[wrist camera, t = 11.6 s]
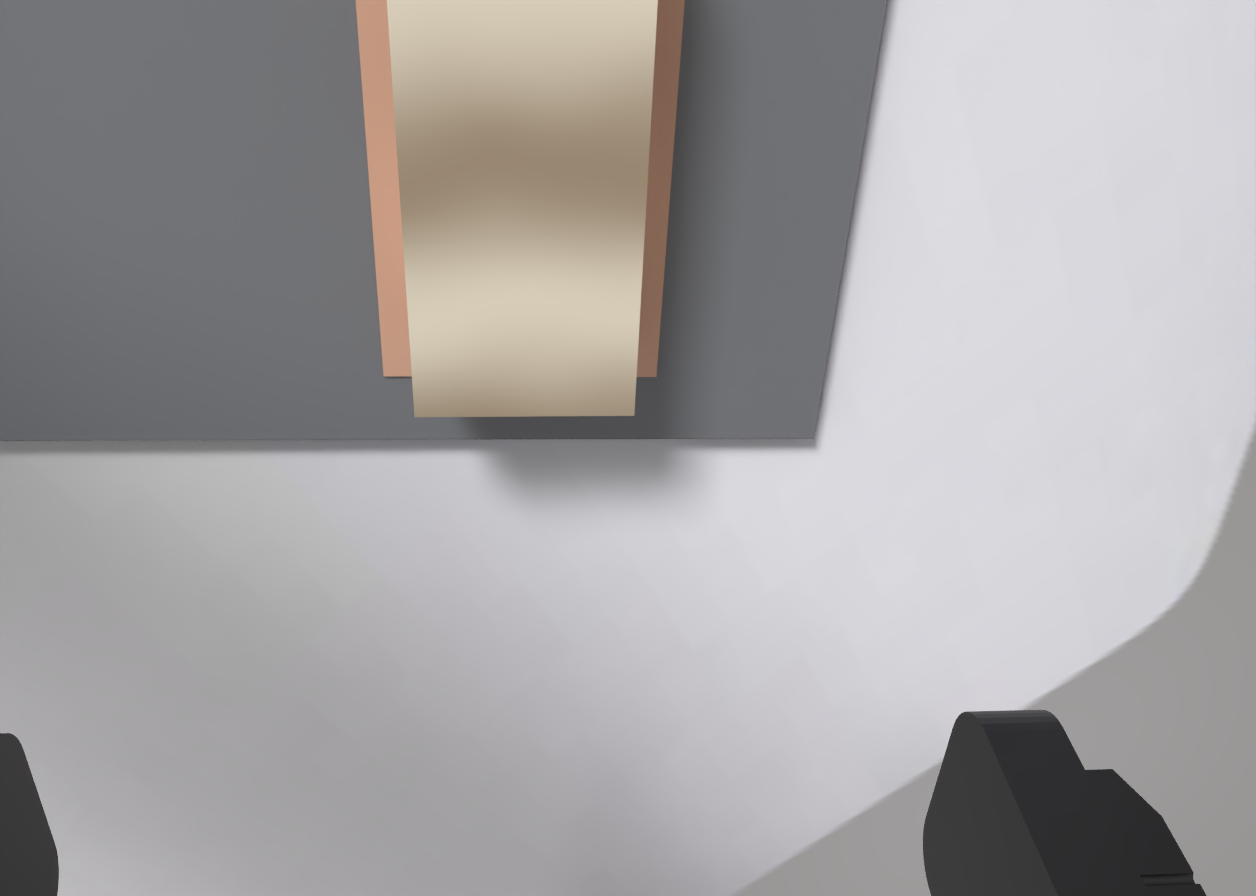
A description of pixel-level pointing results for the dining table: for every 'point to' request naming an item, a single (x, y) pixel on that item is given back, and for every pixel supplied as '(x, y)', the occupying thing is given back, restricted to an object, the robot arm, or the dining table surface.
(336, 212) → the rubber mat
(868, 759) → the dining table surface
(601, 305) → the cream block
